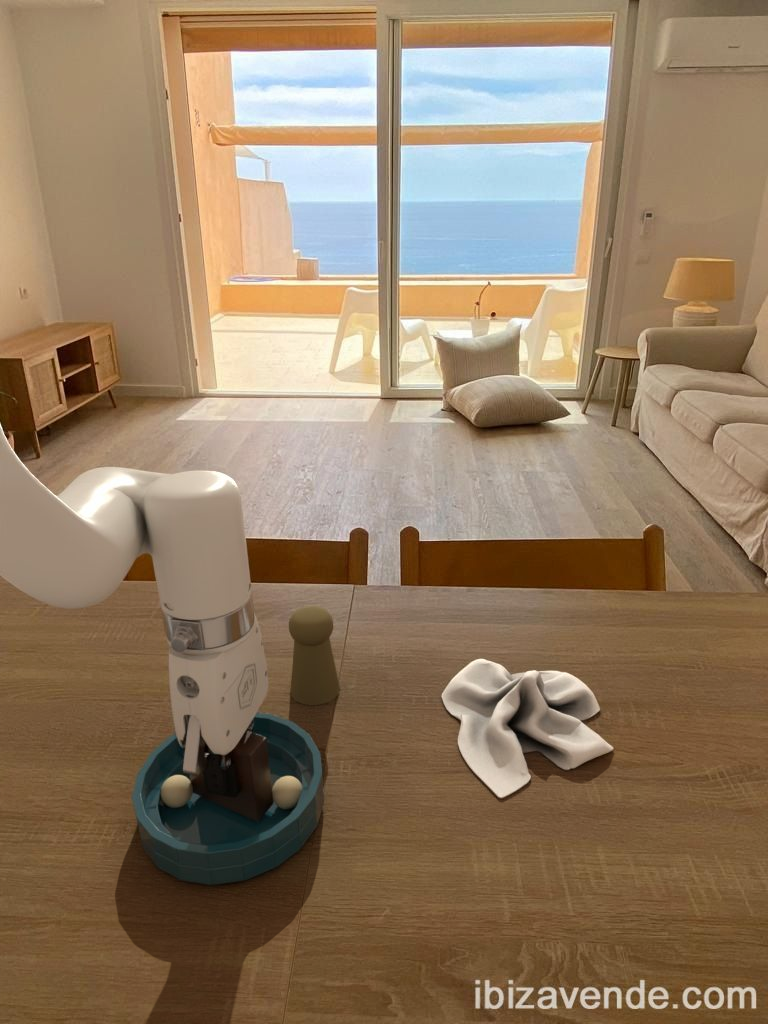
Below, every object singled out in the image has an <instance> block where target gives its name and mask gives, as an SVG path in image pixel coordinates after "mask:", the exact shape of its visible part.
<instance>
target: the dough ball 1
mask: <svg viewBox="0 0 768 1024" xmlns="http://www.w3.org/2000/svg"><path fill="white" fill-rule="evenodd" d="M192 792H193V787H192V784H191V782H190V780H189V779H188V778H187V777H185V776H182V775H174V776H171V777H170V778H168V779H167V780H166V781H165V782H164V783H163V785H162V788H161V799H162V801H163V802H164V804H165V805H167V806H168V807H171V808H179V807H182V806H184V805H185V804H186V803H187V802H188V801H189V800H190V798H191V796H192Z"/></svg>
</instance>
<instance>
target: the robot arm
mask: <svg viewBox="0 0 768 1024" xmlns="http://www.w3.org/2000/svg"><path fill="white" fill-rule="evenodd" d="M242 500H243V499H242V495H241V490H240V488H239V486H238V484H237V483H236V481H235V480H234V478H232V477H230V476H229V475H227V474H225V473H222V472H219V471H215V470H202V469H201V470H200V469H197V470H186V471H180V472H176V473H175V472H174V473H164V472H154V471H148V470H142V469H135V468H129V467H120V466H102V467H100V466H99V467H95V468H92V469H91V468H90V469H89V470H87V471H85V472H83V473H81V474H80V475H78V476H77V477H75V478H74V479H73V480H72V481H71V482H70V483H69V484H68V485H67V486H66V487H65V488H64V489H63V490H62V491H61V492H60V493H58V494H57V495H55V494H54V493H53V492H52V491H51V489H49V488H48V487H47V486H45V485H44V484H43V483H42V482H41V481H40V480H39V479H38V478H37V477H36V476H35V475H34V474H33V473H32V472H31V471H30V470H29V469H28V467H27V466H26V464H24V463H23V461H21V459H20V458H19V457H18V455H17V453H16V452H15V450H14V449H13V448H12V446H11V445H10V443H9V441H8V438H7V437H6V435H5V432H4V430H3V427H2V424H1V423H0V577H1V578H3V579H4V580H5V581H7V582H8V583H10V584H11V585H12V586H13V587H15V588H17V590H19V591H21V592H22V593H24V594H26V595H28V596H30V597H31V598H32V599H35V600H36V601H39V602H41V603H43V604H46V605H48V606H51V607H55V608H59V609H65V610H81V609H87V608H91V607H94V606H95V605H98V604H100V603H102V602H104V601H105V600H107V599H108V598H109V597H111V595H112V594H114V593H115V592H116V591H117V590H118V588H119V587H120V586H121V584H122V582H124V579H125V577H127V575H128V573H129V571H130V570H131V568H132V567H133V565H134V564H135V561H136V560H137V558H139V557H140V556H142V555H144V554H148V555H150V556H151V560H152V565H153V571H154V577H155V582H156V588H157V595H158V601H159V605H160V606H159V607H160V612H161V619H162V623H163V629H164V630H163V631H164V635H165V636H164V637H165V640H166V642H167V644H168V646H169V649H168V682H169V696H170V698H169V699H170V706H171V714H172V722H173V726H174V730H175V732H174V733H176V736H177V739H178V742H179V744H180V745H181V747H182V748H185V754H184V763H183V773H186V774H191V775H199V774H201V773H203V776H204V782H205V788H206V791H207V792H208V793H211V794H216V795H222V796H227V797H233V798H236V797H237V796H238V794H239V792H240V791H239V783H238V776H237V768H236V762H235V761H231V751H232V750H233V749H234V748H235V746H236V745H237V744H238V742H239V741H240V739H241V737H242V736H243V734H244V733H245V731H246V730H248V731H251V730H252V728H253V725H254V716H255V715H256V713H257V712H258V711H259V710H260V707H261V706H262V704H263V702H264V701H265V699H266V697H267V695H268V692H269V687H270V682H269V675H268V666H267V660H266V653H265V647H264V644H263V643H264V642H263V637H262V634H261V629H260V626H259V622H258V618H257V616H256V614H255V613H256V612H255V610H254V609H255V607H254V599H253V591H252V581H251V574H250V573H251V572H250V566H249V563H250V562H249V556H248V547H247V545H248V544H247V537H246V528H245V526H246V525H245V519H244V518H245V517H244V509H243V501H242ZM208 747H209V748H210V750H211V751H212V752H213V753H209V752H208Z"/></svg>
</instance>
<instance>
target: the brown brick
mask: <svg viewBox="0 0 768 1024" xmlns="http://www.w3.org/2000/svg"><path fill="white" fill-rule="evenodd" d="M208 752H209V753H213V752H212V751H211V750H210V748H209V747H208ZM231 761H235V762H236V768H237V776H238V783H239V791H240V792H239V794H238V796H237V797H236V798H233V797H227V796H222V795H216V794H211V793H208V792H207V791H206V788H205V782H204V776H203V773H201V774H199V775H191V774H190V780H191V784H192V787H193V793H195V794H197V795H199V796H201V797H204V798H206V799H208V800H210V801H213V802H215V803H217V804H219V805H221V806H224V807H226V808H228V809H230V810H233V811H235V812H237V813H239V814H241V815H244V816H246V817H248V818H250V819H253V820H255V821H257V822H259V820H260V819H261V818H262V817H263V816H264V814H265V813H266V812H267V811H268V810H269V808H270V807H271V806H272V805H273V797H272V796H273V794H272V784H271V775H270V766H269V757H268V747H267V738H266V737H263V736H261V735H258V734H255V733H253V732H250V731H248V730H246V731H245V733H244V734H243V736H242V737H241V739H240V741H239V742H238V744H237V745H236V746H235V748H234V749H233V750H232V751H231Z"/></svg>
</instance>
